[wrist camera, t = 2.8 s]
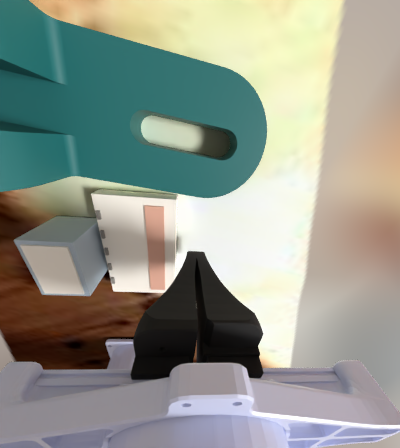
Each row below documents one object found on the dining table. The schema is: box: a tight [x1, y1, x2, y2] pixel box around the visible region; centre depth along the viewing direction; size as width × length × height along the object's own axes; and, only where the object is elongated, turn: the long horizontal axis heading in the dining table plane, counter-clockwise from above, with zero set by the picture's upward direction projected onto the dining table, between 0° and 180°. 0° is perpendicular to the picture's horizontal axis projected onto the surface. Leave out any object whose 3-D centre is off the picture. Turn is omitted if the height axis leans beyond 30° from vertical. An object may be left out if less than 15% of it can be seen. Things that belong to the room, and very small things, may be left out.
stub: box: [14, 216, 108, 296], centre depth 13 cm, size 5×4×4 cm
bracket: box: [0, 0, 267, 198], centre depth 7 cm, size 18×7×8 cm, turn 79°
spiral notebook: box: [91, 189, 178, 293], centre depth 14 cm, size 10×6×1 cm, turn 175°
